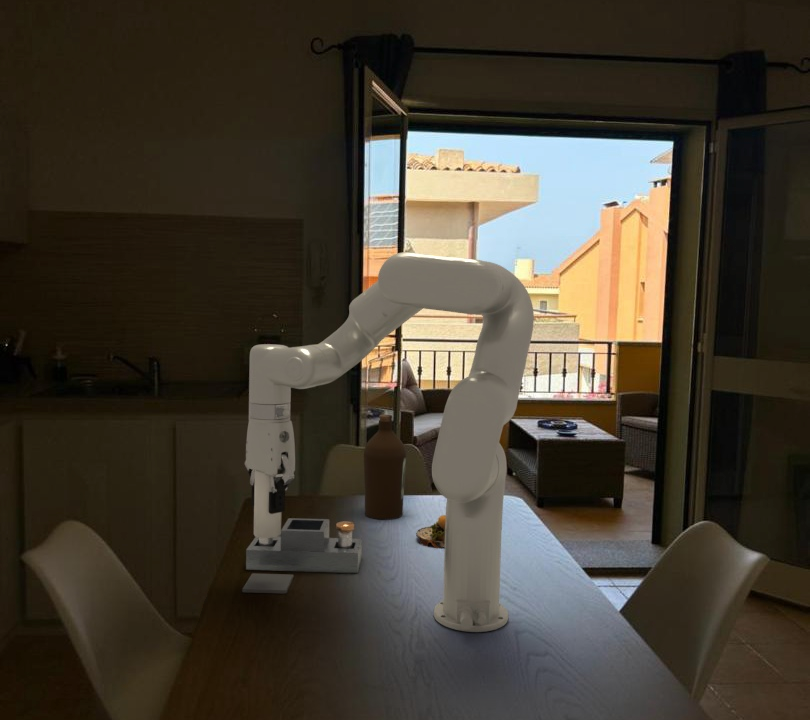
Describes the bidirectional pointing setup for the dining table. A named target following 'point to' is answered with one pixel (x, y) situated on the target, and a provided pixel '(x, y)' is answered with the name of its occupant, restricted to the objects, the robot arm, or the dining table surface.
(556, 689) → the dining table surface
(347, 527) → the plunger
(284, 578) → the mat
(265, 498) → the cylinder
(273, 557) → the housing
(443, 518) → the burger
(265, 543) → the plunger
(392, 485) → the olive oil
